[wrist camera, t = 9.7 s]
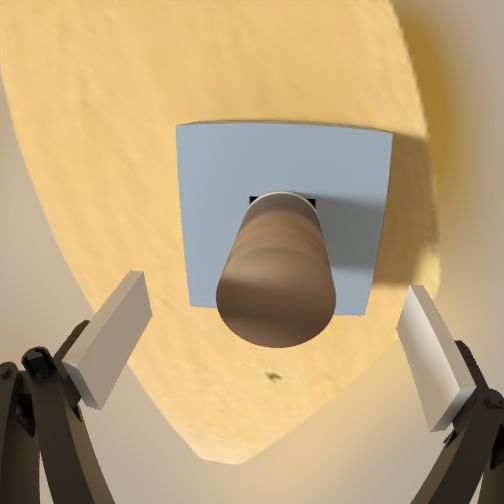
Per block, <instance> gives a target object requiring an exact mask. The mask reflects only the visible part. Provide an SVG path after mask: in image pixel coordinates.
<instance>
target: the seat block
mask: <svg viewBox="0 0 504 504" xmlns="http://www.w3.org/2000/svg"><path fill="white" fill-rule="evenodd" d="M392 138H393V133H390V132H386V131H382V130H379V129H375V128H369V127H361V126H351V125H341V124H329V123H315V122H297V121H265V120H229V121H198V122H192V123H187V124H181V125H176V144H177V164H178V180H179V195H180V208H181V221H182V232H183V243H184V253H185V263H186V272H187V281H188V289H189V298H190V305H191V306H195V307H206V308H217V304H216V290H217V285H218V282H219V280H220V277H221V274H222V272H223V269H224V267H225V264H226V262H227V259H228V256H229V254H230V251H231V249H232V246H233V244H234V241H235V238H236V236H237V233H238V231H239V228H240V226H241V223H242V219H243V216H244V214H245V212H246V210H247V208H248V207H249V205H250V204H251V203H252V202H253V201H254V200H255V199H256V198H257V196H261V195H263V194H265V193H268V192H272V191H282V190H283V191H290V192H294V193H296V194H299V195H301V196H302V197H304V198H306V199H310V203H311V204H312V205H313V207H314V208H315V210H316V211H317V214H318V216H319V219H320V223H321V230H322V234H323V238H324V242H325V246H326V251H327V255H328V259H329V264H330V268H331V273H332V277H333V282H334V286H335V291H336V307H335V311H334V314H333V315H365V311H366V307H367V303H368V298H369V294H370V289H371V285H372V280H373V275H374V270H375V265H376V260H377V254H378V249H379V243H380V237H381V231H382V225H383V219H384V212H385V205H386V197H387V189H388V181H389V172H390V162H391V151H392Z"/></svg>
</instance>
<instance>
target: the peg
mask: <svg viewBox="0 0 504 504" xmlns="http://www.w3.org/2000/svg"><path fill="white" fill-rule="evenodd" d="M216 304H217V308H218V311H219V314H220V316H221V318H222V320H223V321H224V323H225V324H226V325H227V326H228V328H229V329H230V330H231V331H233V332H234V333H235V334H236V335H238V336H239V337H241V338H242V339H244V340H246V341H248V342H250V343H253V344H256V345H259V346H264V347H270V348H285V347H291V346H296V345H299V344H302V343H304V342H307V341H309V340H311V339H312V338H314V337H315V336H317V335H318V334H319V333H320V332H322V331H323V330H324V329H325V327H326V326H327V325H328V324H329V322H330V320H331V319H332V316H333V314H334V311H335V307H336V291H335V286H334V282H333V277H332V273H331V268H330V264H329V259H328V255H327V251H326V246H325V242H324V238H323V234H322V230H321V223H320V219H319V216H318V214H317V211H316V210H315V208H314V207H313V205H312V204H311V203H310V202H309V201H308V200H307V199H305V198H304V197H302V196H301V195H299V194H296V193H294V192H290V191H283V190H282V191H272V192H268V193H265V194H263V195H261V196H259V197H258V198H256V199H255V200H254V201H253V202H252V203H251V204H250V205H249V207H248V208H247V210H246V212H245V214H244V216H243V219H242V223H241V226H240V228H239V231H238V233H237V236H236V238H235V241H234V244H233V246H232V249H231V251H230V254H229V256H228V259H227V262H226V264H225V267H224V269H223V272H222V274H221V277H220V280H219V282H218V285H217V290H216Z"/></svg>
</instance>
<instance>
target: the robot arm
mask: <svg viewBox="0 0 504 504" xmlns="http://www.w3.org/2000/svg"><path fill="white" fill-rule="evenodd" d="M151 317H152V311H151V307H150V302H149V297H148V293H147V288H146V283H145V277H144V272H139V271H130V272H129V273H128V274H127V275H126V277H125V278H124V279H123V280H122V281H121V283H120V284H119V285H118V286H117V288H116V289H115V290H114V291H113V293H112V294H111V295H110V296H109V298H108V299H107V300H106V302H105V303H104V304H103V305H102V307H101V308H100V309H99V311H98V312H97V313H96V314H95V316H94V317H93V318H92V320H91V321H88V320H85V321H83V322H82V323H81V324H79V325H77V326H76V327H75V329H74V330H73V332H72V333H71V335H69V337H68V338H67V339H66V341H65V342H64V343H63V345H62V346H61V347H60V349H59V350H58V351H57V353H56V354H55V356H54V357H53V358H52V357H51V355H50V353H49V351H48V349H46V348H45V347H40V346H39V347H34V348H32V349H29V350H28V351H27V352H26V353H25V354H24V356H23V357H22V361H21V362H22V364H23V366H24V368H25V369H26V371H19V370H18V368H17V366H16V365H15V364H14V363H13V362H5V363H2V364H1V365H0V504H40V491H39V458H40V456H39V455H40V452H41V457H42V461H43V465H44V469H45V474H46V478H47V481H48V485H49V489H50V492H51V496H52V499H53V502H54V504H115V502H114V500H113V498H112V496H111V493H110V491H109V489H108V486H107V484H106V481H105V479H104V477H103V474H102V472H101V469H100V466H99V464H98V461H97V458H96V456H95V453H94V450H93V447H92V444H91V441H90V439H89V435H88V432H87V429H86V426H85V422H84V419H83V416H82V412H81V409H80V407H79V405H78V403H79V401H80V399H81V398H82V400H83V401H84V403H85V405H86V406H88V407H91V408H94V409H98V410H102V408H103V406H104V404H105V402H106V400H107V398H108V396H109V394H110V392H111V390H112V389H113V387H114V385H115V383H116V381H117V379H118V377H119V375H120V373H121V371H122V370H123V368H124V366H125V364H126V362H127V360H128V358H129V357H130V355H131V353H132V351H133V349H134V348H135V346H136V344H137V342H138V340H139V338H140V337H141V335H142V333H143V331H144V330H145V328H146V326H147V324H148V322H149V321H150V319H151ZM396 329H397V332H398V335H399V337H400V340H401V343H402V346H403V348H404V351H405V354H406V357H407V360H408V363H409V366H410V369H411V372H412V375H413V378H414V380H415V384H416V387H417V390H418V393H419V397H420V400H421V403H422V406H423V410H424V413H425V417H426V420H427V424H428V427H429V431H430V432H436V431H442V430H446V428H447V427H448V426H449V425H450V423H451V422H452V423H453V426H454V430H453V431H452V432H451V433H450V434H449V436H448V437H447V438H446V439H445V440H444V442H443V443H446V444H445V446H444V448H443V450H442V451H441V453H440V455H439V457H438V459H437V461H436V463H435V465H434V466H433V468H432V470H431V471H430V473H429V475H428V477H427V478H426V480H425V482H424V483H423V485H422V486H421V488H420V490H419V491H418V493H417V494H416V496H415V498H414V499H413V501H412V502H411V504H469V503H470V501H471V499H472V497H473V495H474V492H475V490H476V488H477V486H478V483H479V481H480V479H481V476H482V474H483V479H482V484H481V490H480V494H479V499H478V504H504V398H503V396H502V395H501V394H500V393H499V392H497V391H496V390H493V389H489V387H488V385H487V383H486V381H485V379H484V377H483V375H482V373H481V371H480V369H479V367H478V365H476V361H475V359H474V358H473V355H472V353H471V351H470V350H469V348H468V347H467V346H466V345H465V344H464V343H463V342H462V341H460V340H459V341H454V340H453V338H452V336H451V334H450V332H449V330H448V328H447V326H446V325H445V323H444V321H443V319H442V317H441V315H440V314H439V312H438V310H437V308H436V307H435V305H434V303H433V301H432V300H431V298H430V296H429V295H428V293H427V291H426V290H425V288H424V286H423V285H410V286H409V290H408V293H407V297H406V300H405V303H404V307H403V310H402V313H401V316H400V319H399V322H398V325H397V328H396ZM483 472H484V473H483Z"/></svg>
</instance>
